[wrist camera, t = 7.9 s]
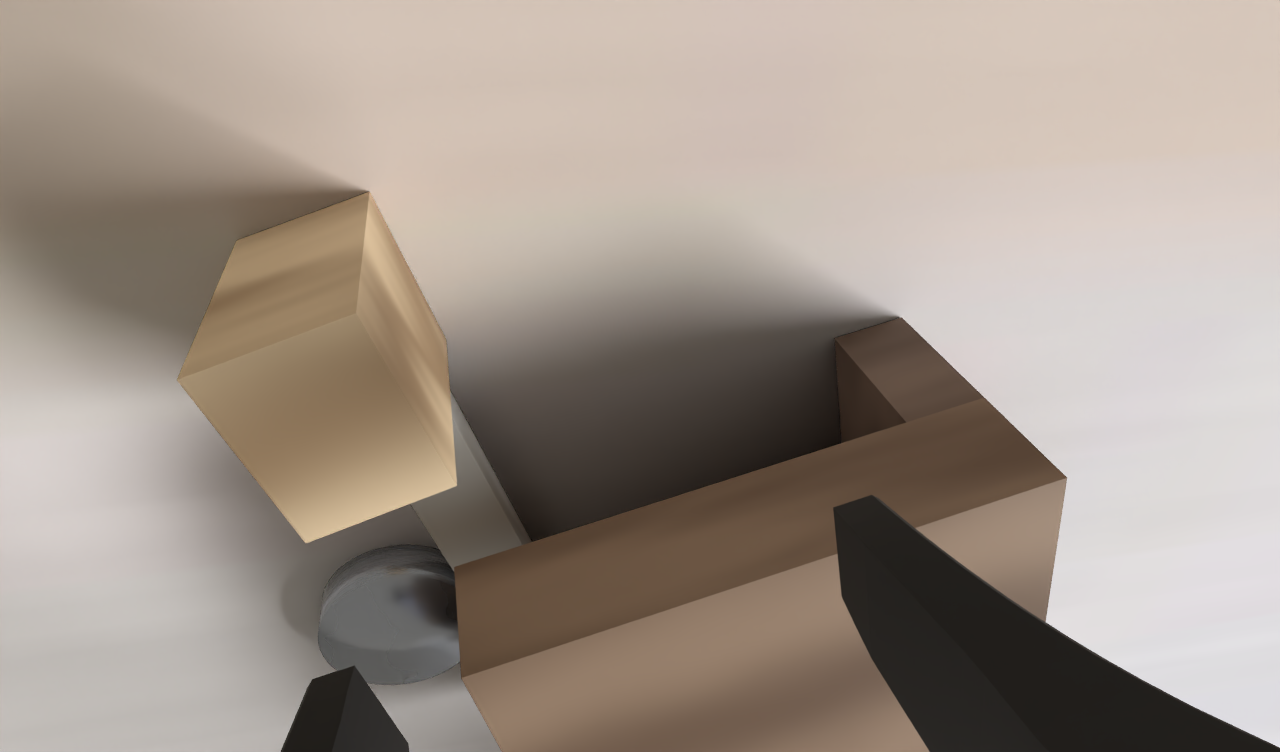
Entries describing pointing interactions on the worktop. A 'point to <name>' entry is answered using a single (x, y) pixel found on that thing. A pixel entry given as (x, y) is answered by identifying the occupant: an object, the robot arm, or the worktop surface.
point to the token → (391, 615)
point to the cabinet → (756, 581)
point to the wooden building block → (343, 386)
